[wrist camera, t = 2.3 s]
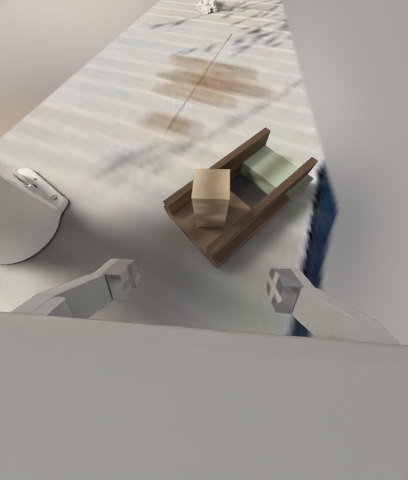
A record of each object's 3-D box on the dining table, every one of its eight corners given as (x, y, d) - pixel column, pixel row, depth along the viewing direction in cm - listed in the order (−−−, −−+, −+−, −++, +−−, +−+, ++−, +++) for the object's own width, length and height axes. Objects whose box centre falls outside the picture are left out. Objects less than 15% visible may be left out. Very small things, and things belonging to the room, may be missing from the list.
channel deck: (168, 214, 30) (158, 196, 25) (252, 151, 35) (260, 124, 29) (216, 268, 26) (218, 260, 21) (304, 189, 31) (324, 165, 26)
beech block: (196, 226, 26) (191, 198, 18) (198, 203, 27) (194, 168, 20) (223, 227, 26) (229, 199, 18) (224, 204, 27) (229, 169, 20)
